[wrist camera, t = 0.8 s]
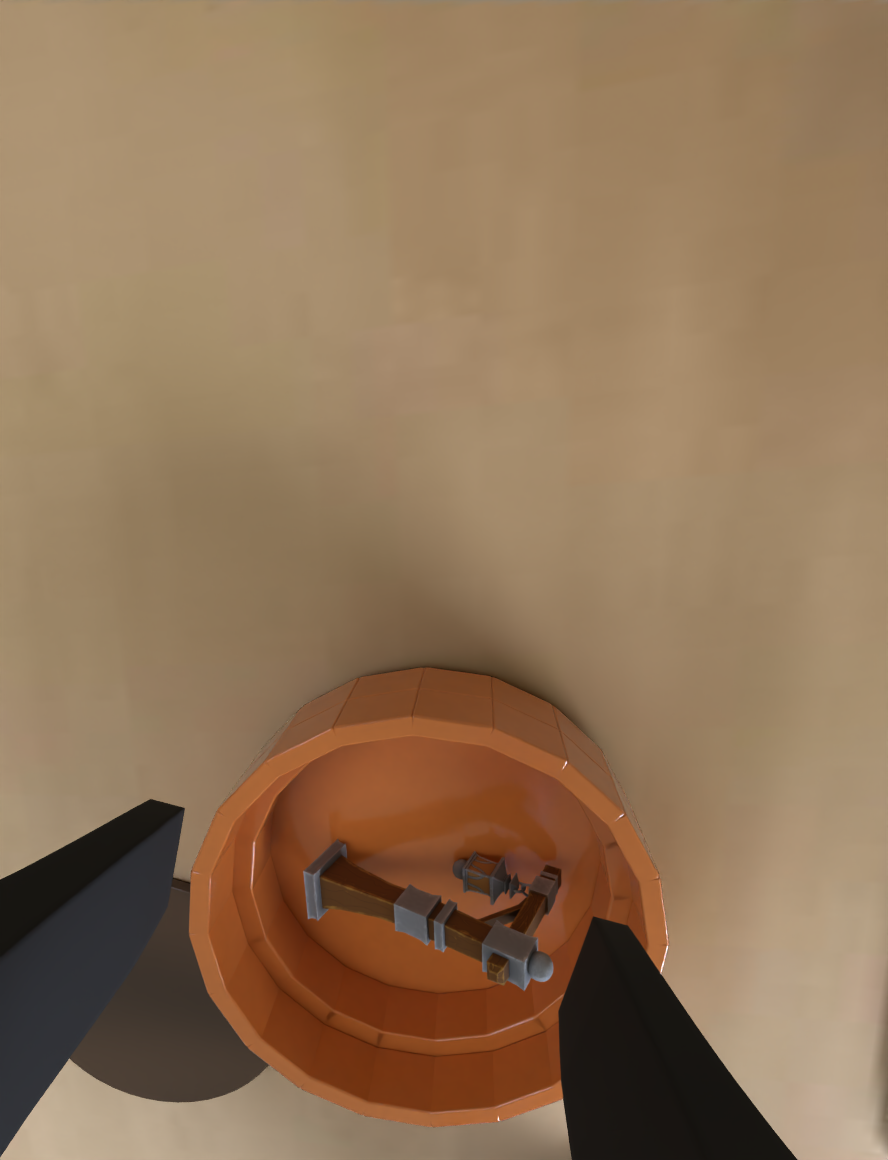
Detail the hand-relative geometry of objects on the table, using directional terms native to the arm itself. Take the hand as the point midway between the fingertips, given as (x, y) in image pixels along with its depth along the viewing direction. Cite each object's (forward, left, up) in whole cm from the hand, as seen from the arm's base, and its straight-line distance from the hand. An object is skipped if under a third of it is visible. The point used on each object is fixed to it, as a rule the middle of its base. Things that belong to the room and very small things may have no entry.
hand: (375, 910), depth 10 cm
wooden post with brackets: (-6, +1, -10) cm, 11 cm away
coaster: (-10, +12, -10) cm, 19 cm away
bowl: (-6, +1, -10) cm, 12 cm away
